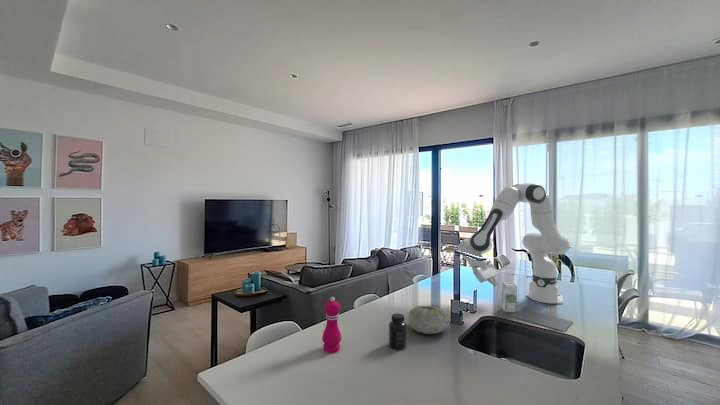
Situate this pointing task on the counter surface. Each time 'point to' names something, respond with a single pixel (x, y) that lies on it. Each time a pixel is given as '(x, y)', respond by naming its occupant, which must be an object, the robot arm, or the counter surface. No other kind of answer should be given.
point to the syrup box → (509, 297)
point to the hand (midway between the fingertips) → (496, 285)
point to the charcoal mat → (543, 319)
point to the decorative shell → (428, 319)
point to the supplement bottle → (397, 332)
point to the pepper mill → (331, 327)
